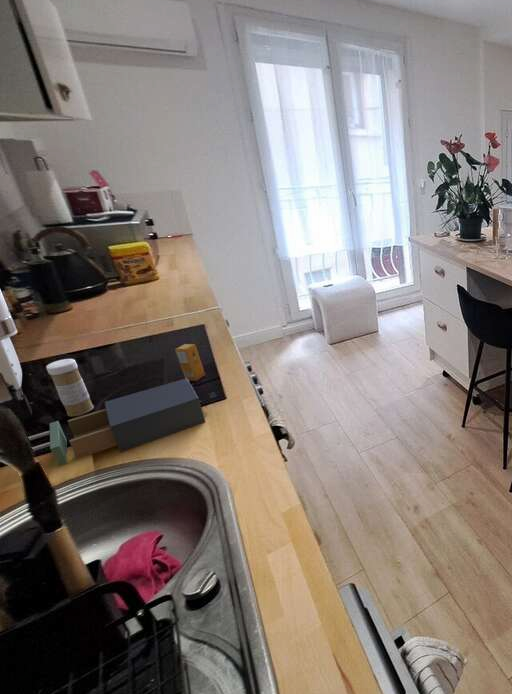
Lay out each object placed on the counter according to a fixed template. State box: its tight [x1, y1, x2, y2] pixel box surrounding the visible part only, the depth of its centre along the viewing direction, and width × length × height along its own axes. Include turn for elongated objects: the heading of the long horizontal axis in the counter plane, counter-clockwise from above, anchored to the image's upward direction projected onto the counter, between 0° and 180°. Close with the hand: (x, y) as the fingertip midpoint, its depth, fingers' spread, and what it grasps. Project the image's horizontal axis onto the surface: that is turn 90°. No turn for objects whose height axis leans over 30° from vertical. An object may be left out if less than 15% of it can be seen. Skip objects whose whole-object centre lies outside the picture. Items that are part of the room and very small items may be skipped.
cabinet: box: [104, 377, 206, 453], centre depth 94 cm, size 15×13×7 cm
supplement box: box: [174, 343, 206, 382], centre depth 112 cm, size 3×3×10 cm
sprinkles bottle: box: [45, 358, 95, 418], centre depth 96 cm, size 5×5×14 cm
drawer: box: [28, 408, 118, 467], centre depth 86 cm, size 19×11×5 cm, turn 138°
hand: (19, 417), depth 78 cm, fingers closed
